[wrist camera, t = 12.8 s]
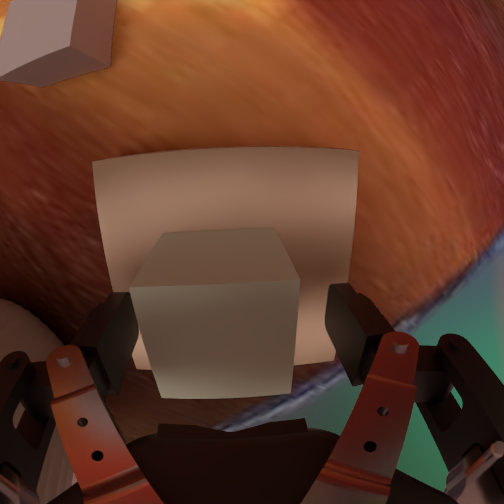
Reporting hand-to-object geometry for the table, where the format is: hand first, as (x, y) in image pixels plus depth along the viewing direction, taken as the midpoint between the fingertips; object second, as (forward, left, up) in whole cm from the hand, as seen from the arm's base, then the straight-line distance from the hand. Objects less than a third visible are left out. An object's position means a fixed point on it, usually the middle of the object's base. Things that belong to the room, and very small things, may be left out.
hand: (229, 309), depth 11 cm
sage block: (0, 0, -3) cm, 3 cm away
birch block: (0, 0, -7) cm, 7 cm away
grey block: (-14, -9, -6) cm, 18 cm away
